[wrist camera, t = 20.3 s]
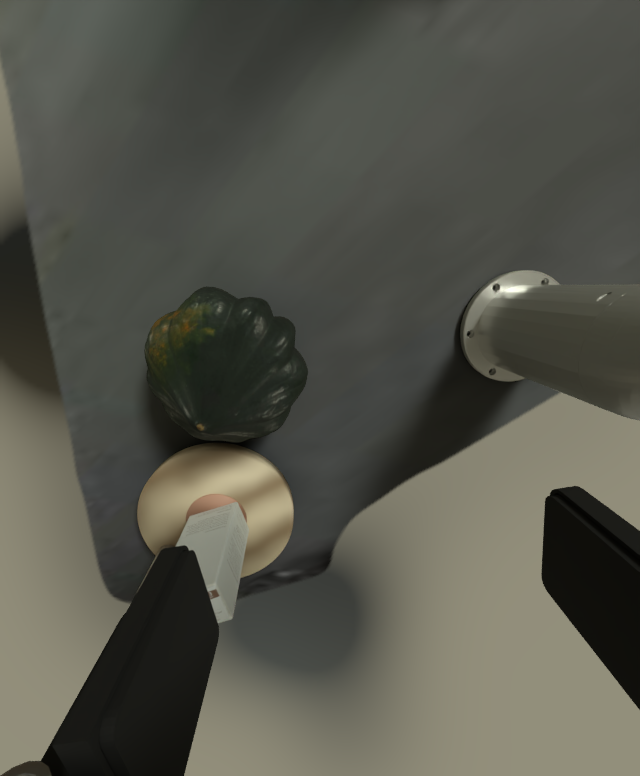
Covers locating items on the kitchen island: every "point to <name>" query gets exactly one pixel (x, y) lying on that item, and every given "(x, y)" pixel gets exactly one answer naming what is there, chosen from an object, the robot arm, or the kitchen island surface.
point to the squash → (225, 366)
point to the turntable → (218, 499)
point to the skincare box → (218, 553)
